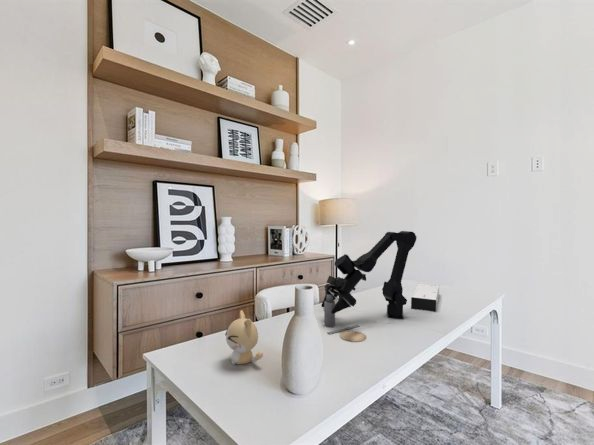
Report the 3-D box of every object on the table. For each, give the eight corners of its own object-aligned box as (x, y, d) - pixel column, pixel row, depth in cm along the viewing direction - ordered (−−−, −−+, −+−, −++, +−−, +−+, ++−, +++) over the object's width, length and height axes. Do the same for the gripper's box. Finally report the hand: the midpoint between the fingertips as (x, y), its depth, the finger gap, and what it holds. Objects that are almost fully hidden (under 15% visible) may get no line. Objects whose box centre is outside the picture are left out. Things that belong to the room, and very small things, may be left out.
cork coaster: (367, 333, 124) (367, 332, 124) (365, 343, 114) (365, 342, 114) (341, 330, 127) (341, 329, 127) (337, 340, 117) (337, 338, 117)
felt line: (357, 325, 132) (357, 324, 132) (359, 326, 131) (359, 325, 131) (327, 333, 124) (327, 332, 124) (329, 334, 122) (329, 333, 122)
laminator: (435, 313, 150) (436, 300, 150) (408, 309, 156) (408, 296, 156) (439, 296, 181) (439, 285, 181) (416, 293, 186) (416, 283, 186)
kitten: (221, 354, 105) (221, 309, 105) (250, 349, 109) (250, 306, 109) (231, 375, 92) (230, 324, 91) (264, 368, 96) (264, 319, 95)
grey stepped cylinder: (335, 324, 134) (335, 293, 133) (333, 327, 130) (333, 296, 129) (325, 323, 135) (325, 293, 135) (323, 326, 131) (323, 295, 130)
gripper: (328, 265, 142) (305, 292, 138) (349, 273, 124) (324, 303, 121) (343, 281, 145) (321, 308, 141) (366, 291, 127) (342, 321, 124)
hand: (326, 309), depth 132 cm, fingers open, 9 cm apart
